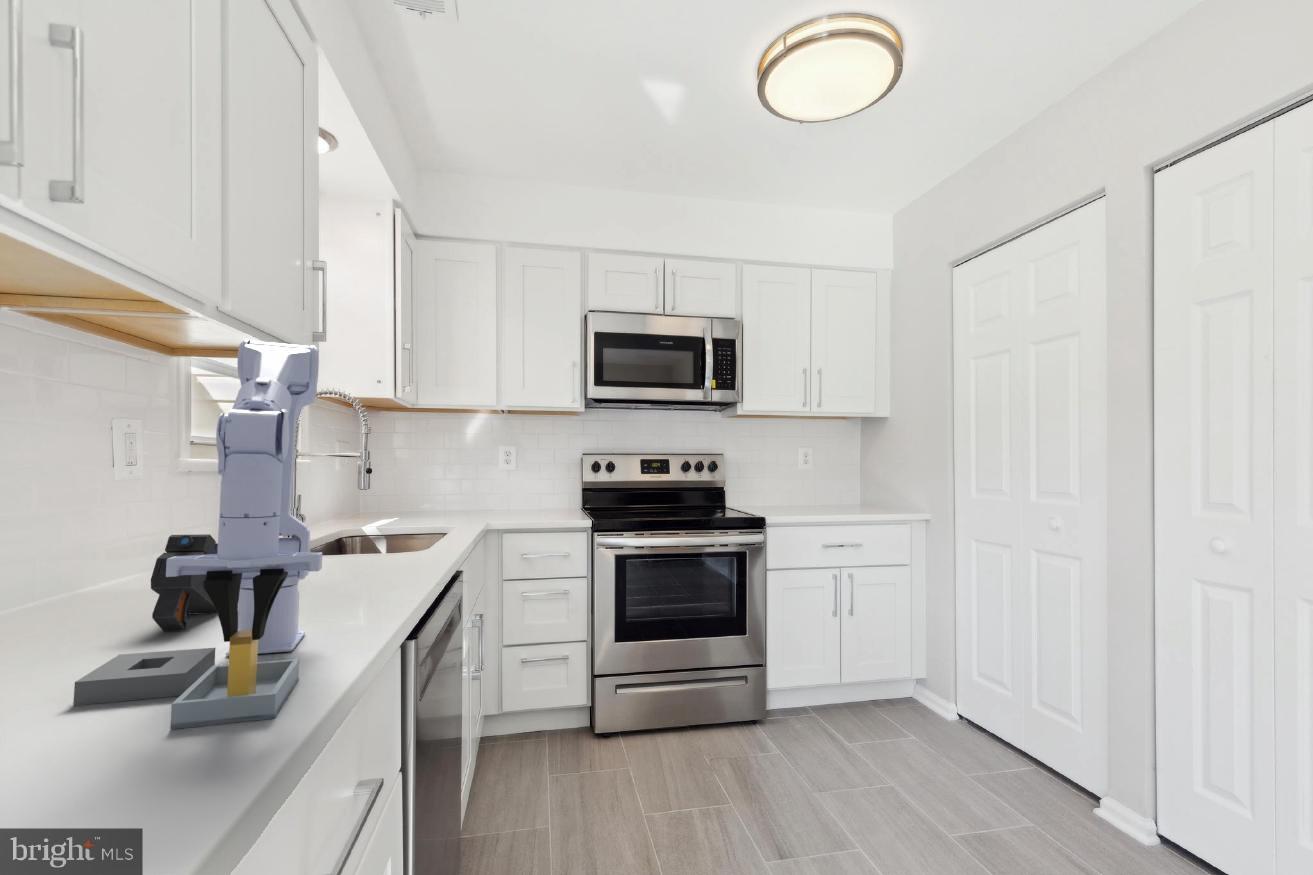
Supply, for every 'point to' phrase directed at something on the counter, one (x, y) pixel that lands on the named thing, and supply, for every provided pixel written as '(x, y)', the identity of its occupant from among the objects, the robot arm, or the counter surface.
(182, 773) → the counter surface
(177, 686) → the socket block
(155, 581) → the tool
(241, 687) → the block
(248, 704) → the parts tray
